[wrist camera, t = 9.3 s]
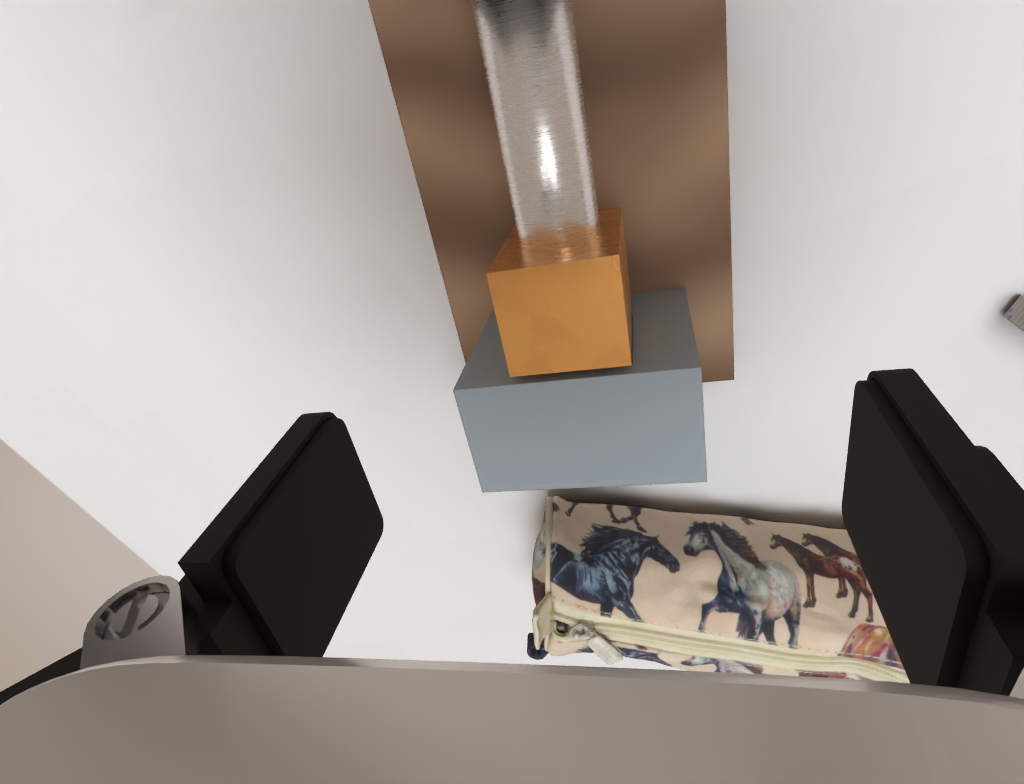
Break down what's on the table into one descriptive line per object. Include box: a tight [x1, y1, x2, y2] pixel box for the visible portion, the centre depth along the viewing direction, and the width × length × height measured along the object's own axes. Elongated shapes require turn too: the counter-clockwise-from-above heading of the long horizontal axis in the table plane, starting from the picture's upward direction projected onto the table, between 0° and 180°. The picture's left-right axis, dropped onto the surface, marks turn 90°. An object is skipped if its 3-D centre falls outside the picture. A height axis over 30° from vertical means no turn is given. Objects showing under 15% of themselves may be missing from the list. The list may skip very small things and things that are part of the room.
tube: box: [471, 0, 632, 377], centre depth 21 cm, size 18×4×6 cm, turn 11°
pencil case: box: [527, 496, 910, 683], centre depth 32 cm, size 22×8×10 cm, turn 89°
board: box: [368, 0, 734, 382], centre depth 24 cm, size 30×13×2 cm, turn 11°
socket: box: [453, 287, 707, 492], centre depth 26 cm, size 5×9×8 cm, turn 101°
